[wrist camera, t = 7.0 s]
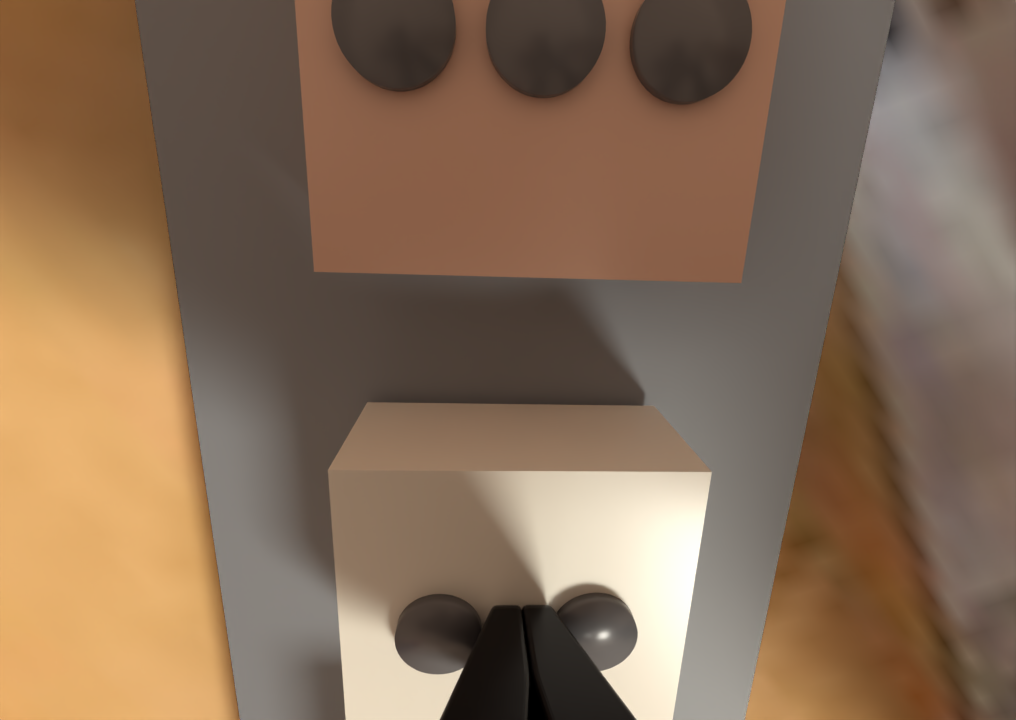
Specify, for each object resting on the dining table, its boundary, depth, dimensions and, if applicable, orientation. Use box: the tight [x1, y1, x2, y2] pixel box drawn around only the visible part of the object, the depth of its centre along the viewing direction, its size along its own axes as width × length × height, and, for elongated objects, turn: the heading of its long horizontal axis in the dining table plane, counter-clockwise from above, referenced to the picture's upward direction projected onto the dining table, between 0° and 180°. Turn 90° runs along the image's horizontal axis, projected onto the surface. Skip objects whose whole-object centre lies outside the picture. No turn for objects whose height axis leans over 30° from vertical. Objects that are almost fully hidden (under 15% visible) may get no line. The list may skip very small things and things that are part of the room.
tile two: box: [328, 402, 712, 720], centre depth 8 cm, size 5×5×3 cm
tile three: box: [295, 0, 786, 283], centre depth 6 cm, size 5×5×3 cm
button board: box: [135, 0, 895, 720], centre depth 10 cm, size 11×23×1 cm, turn 178°
